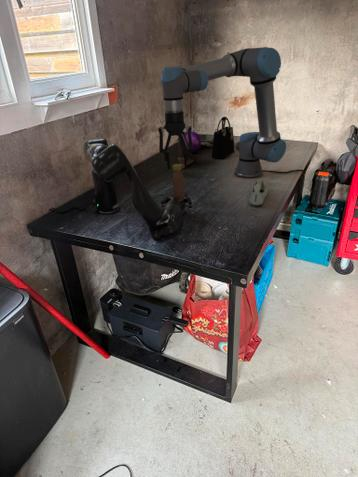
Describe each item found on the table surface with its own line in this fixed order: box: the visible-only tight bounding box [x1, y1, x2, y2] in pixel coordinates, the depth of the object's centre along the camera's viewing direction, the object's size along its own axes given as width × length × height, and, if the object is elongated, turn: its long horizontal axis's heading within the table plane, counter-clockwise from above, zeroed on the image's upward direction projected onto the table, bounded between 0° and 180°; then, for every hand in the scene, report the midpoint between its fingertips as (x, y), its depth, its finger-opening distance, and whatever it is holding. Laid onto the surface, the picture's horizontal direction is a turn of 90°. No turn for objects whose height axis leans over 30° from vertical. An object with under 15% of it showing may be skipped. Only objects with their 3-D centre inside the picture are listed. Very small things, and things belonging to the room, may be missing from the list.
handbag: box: [211, 116, 236, 160], centre depth 219 cm, size 21×9×25 cm, turn 148°
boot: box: [176, 131, 195, 169], centre depth 209 cm, size 9×24×20 cm, turn 168°
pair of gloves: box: [199, 134, 214, 149], centre depth 251 cm, size 30×26×5 cm
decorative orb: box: [184, 130, 202, 154], centre depth 230 cm, size 15×15×15 cm
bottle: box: [172, 169, 186, 215], centre depth 145 cm, size 5×5×21 cm
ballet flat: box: [249, 179, 269, 207], centre depth 158 cm, size 8×24×8 cm, turn 163°
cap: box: [171, 163, 183, 171], centre depth 140 cm, size 4×4×2 cm
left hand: (179, 195), depth 150 cm, fingers closed on bottle, 4 cm apart
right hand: (177, 168), depth 140 cm, fingers open, 7 cm apart
